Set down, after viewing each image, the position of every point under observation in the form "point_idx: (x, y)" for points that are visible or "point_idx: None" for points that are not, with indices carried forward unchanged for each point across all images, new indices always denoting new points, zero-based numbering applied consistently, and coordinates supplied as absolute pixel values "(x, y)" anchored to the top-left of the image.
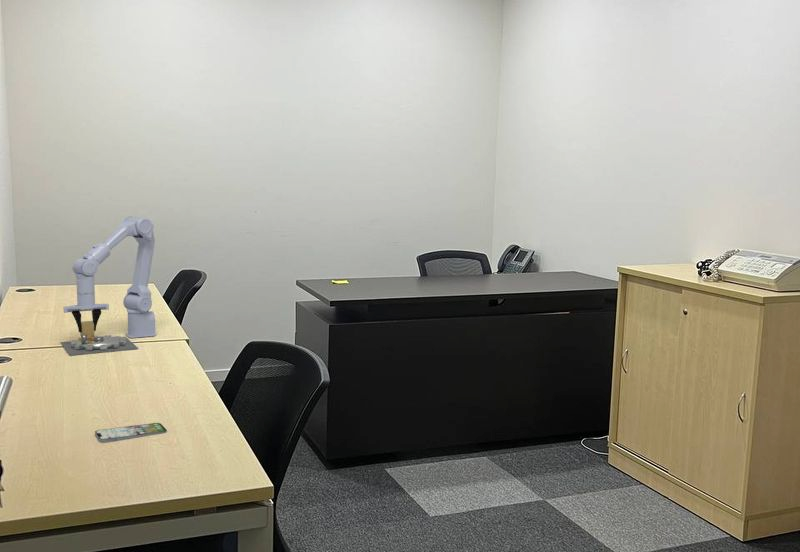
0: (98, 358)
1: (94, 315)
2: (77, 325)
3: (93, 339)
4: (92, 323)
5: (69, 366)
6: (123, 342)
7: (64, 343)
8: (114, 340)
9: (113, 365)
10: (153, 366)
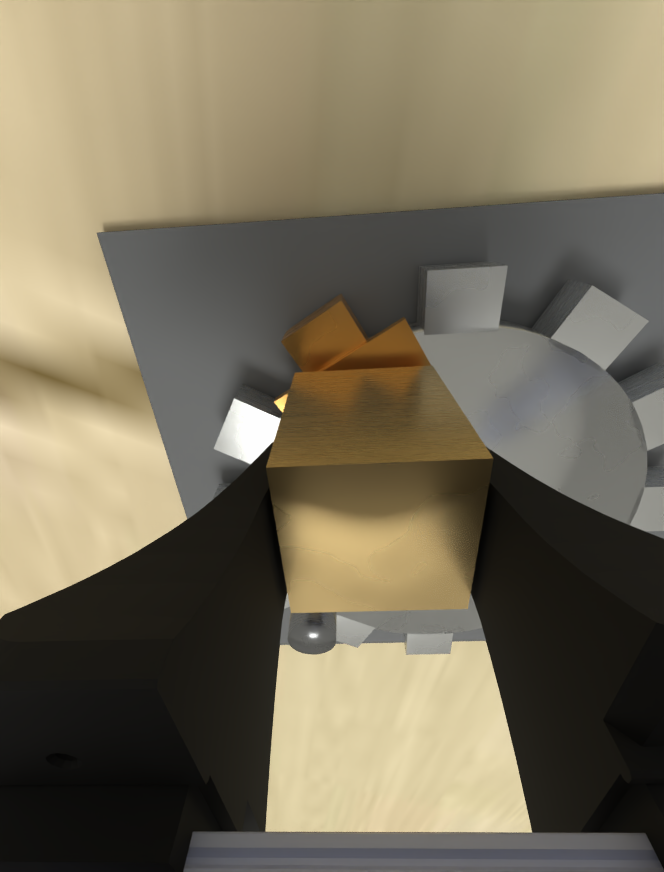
0: (364, 706)
1: (521, 772)
2: (238, 483)
3: None
4: (445, 601)
5: None
6: None
7: (149, 312)
8: None
9: (397, 781)
10: (516, 814)
